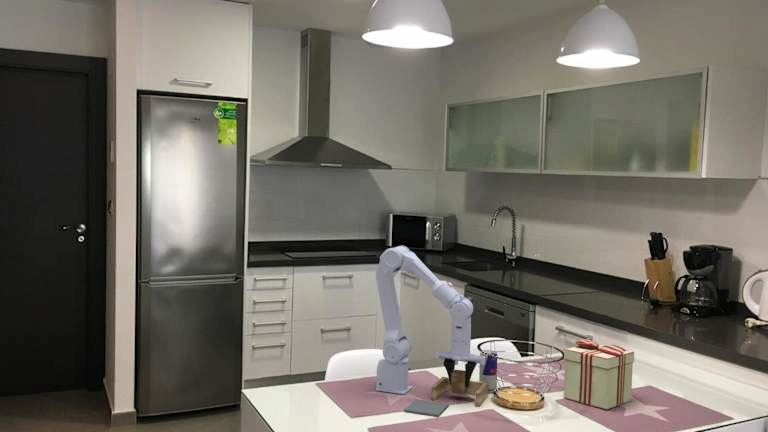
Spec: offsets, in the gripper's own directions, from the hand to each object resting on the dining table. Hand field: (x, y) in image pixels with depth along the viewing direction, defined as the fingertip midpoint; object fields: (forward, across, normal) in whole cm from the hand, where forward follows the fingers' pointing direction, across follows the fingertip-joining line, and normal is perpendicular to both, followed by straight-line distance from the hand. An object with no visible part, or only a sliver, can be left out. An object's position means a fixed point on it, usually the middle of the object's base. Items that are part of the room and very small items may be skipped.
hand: (459, 385), depth 201 cm
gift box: (+4, +38, +18) cm, 42 cm away
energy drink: (+4, +6, +11) cm, 13 cm away
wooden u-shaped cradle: (+4, 0, 0) cm, 4 cm away
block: (+2, 0, 0) cm, 2 cm away
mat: (+4, -6, -13) cm, 15 cm away
